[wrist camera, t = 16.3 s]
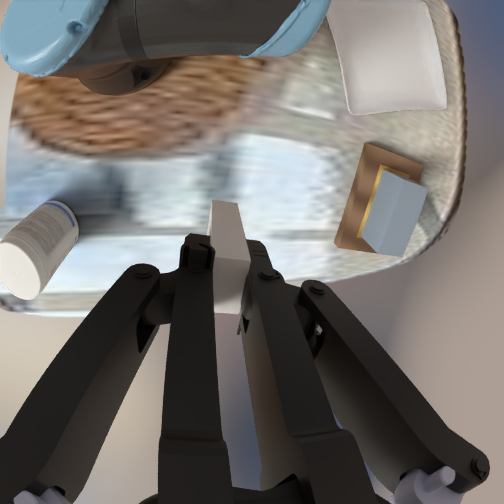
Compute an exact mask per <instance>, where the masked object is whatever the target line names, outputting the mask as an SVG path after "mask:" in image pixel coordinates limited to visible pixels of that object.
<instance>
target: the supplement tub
mask: <svg viewBox="0 0 504 504" xmlns="http://www.w3.org/2000/svg"><path fill="white" fill-rule="evenodd" d="M78 234H79V229H78V223H77V220H76V218H75V216H74V214H73V213H72V211H71V210H70V209H69V208H68V207H67V206H66V205H65V204H63V203H61V202H58V201H47V202H45V203H43V204H42V205H41V206H39V207H38V208H37V209H35V210H34V211H33V212H32V213H31V214H29V215H28V216H27V217H26V218H25V219H23V220H22V221H21V222H20V223H19V224H18V225H17V226H15V227H14V228H13V229H12V230H11V231H10V232H9V233H8V234H7V235H6V236H5V237H4V238H3V239H2V240H1V241H0V281H1V283H2V284H3V285H4V287H5V288H6V289H7V290H8V291H9V292H11V293H12V294H13V295H15V296H16V297H18V298H21V299H25V300H31V299H34V298H36V297H37V296H38V295H39V294H40V292H42V290H43V289H44V287H45V286H46V285H47V283H48V282H49V280H50V279H51V277H52V276H53V274H54V273H55V271H56V270H57V268H58V267H59V266H60V264H61V263H62V261H63V260H64V259H65V257H66V256H67V255H68V253H69V252H70V251H71V249H72V248H73V246H74V245H75V244H76V242H77V239H78Z"/></svg>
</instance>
